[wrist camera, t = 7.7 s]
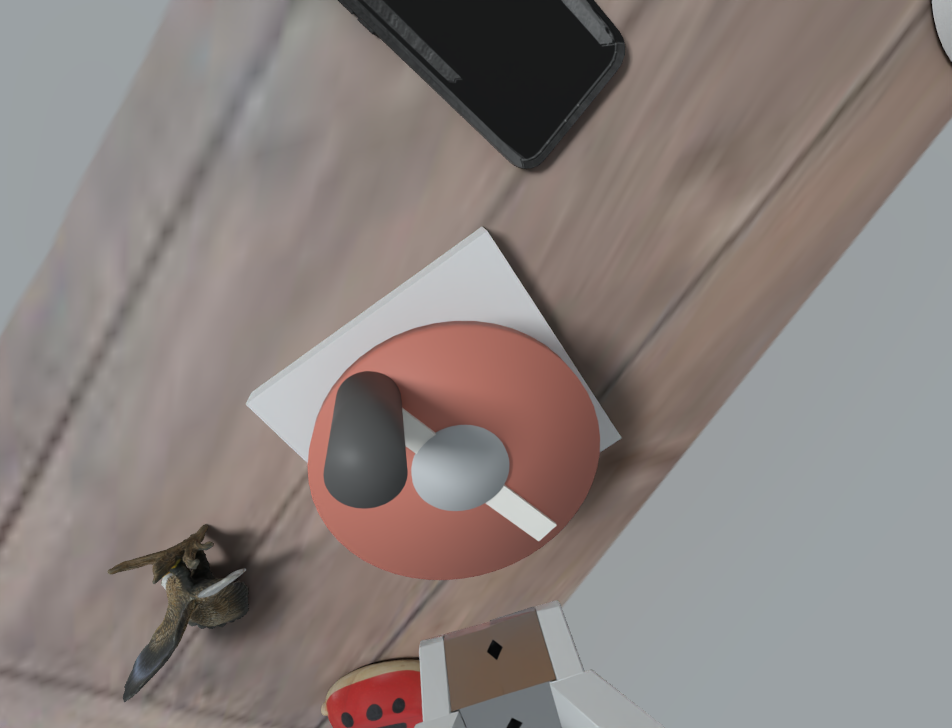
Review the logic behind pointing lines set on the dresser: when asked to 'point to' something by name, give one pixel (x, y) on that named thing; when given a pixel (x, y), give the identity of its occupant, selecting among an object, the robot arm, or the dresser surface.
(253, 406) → the square base plate
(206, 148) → the dresser surface
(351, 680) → the ladybug figurine
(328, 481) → the handwheel
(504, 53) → the phone
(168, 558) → the eagle figurine
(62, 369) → the dresser surface
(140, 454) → the dresser surface
